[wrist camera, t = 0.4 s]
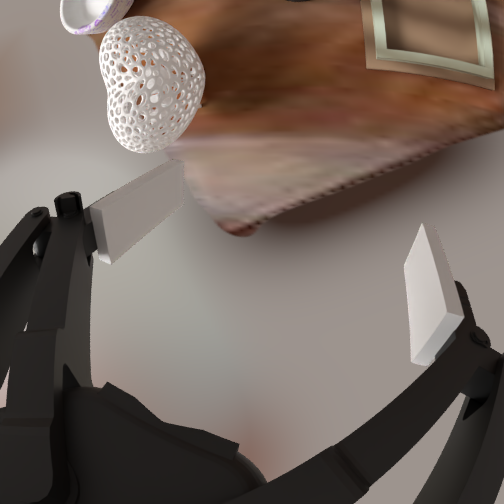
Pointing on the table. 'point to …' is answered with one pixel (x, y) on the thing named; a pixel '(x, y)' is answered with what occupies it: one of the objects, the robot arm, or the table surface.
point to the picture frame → (430, 39)
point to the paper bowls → (92, 14)
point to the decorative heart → (150, 82)
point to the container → (297, 0)
